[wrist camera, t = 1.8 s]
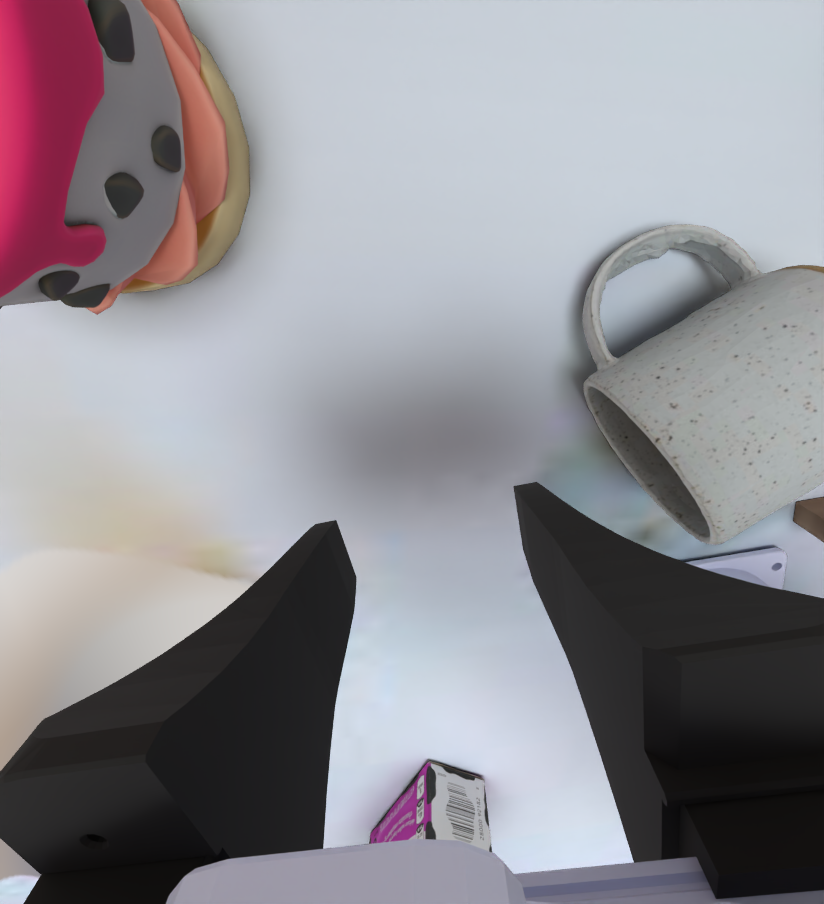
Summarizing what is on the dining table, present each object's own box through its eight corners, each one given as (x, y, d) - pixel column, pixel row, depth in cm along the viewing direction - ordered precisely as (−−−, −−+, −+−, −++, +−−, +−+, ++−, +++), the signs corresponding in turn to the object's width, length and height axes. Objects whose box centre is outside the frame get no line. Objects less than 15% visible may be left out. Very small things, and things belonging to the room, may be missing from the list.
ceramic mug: (800, 389, 20) (1015, 457, 12) (635, 485, 22) (738, 590, 15) (705, 175, 16) (919, 103, 9) (522, 312, 18) (584, 339, 11)
